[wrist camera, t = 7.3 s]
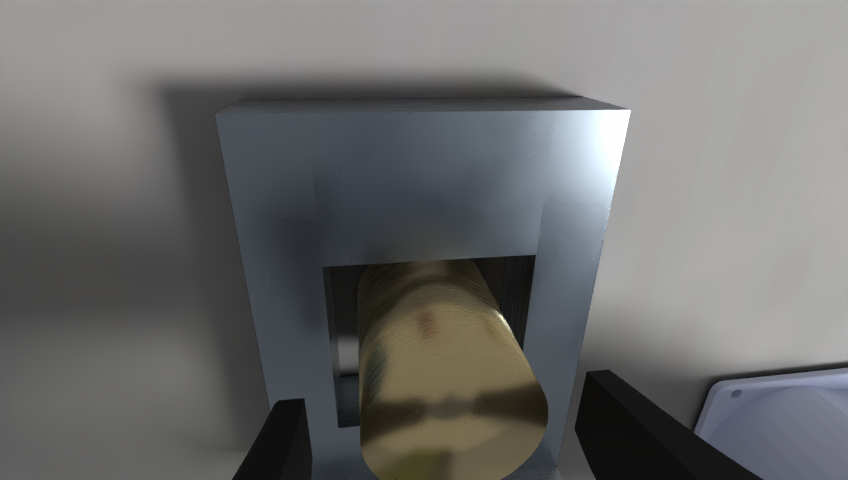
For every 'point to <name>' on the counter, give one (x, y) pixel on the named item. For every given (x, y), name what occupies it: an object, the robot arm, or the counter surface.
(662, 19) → the counter surface
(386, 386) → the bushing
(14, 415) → the counter surface
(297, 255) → the frame
